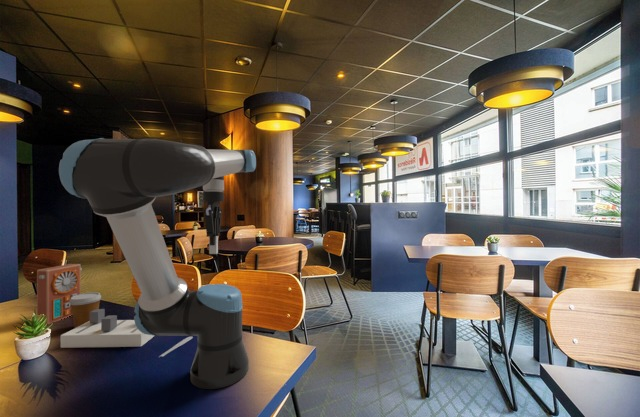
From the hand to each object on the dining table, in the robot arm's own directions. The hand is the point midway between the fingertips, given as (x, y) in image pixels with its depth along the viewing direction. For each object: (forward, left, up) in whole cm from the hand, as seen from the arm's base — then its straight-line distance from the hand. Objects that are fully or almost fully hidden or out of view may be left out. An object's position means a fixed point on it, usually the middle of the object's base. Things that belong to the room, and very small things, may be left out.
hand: (213, 253), depth 103 cm
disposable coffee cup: (+3, +50, -29) cm, 58 cm away
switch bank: (-7, +32, -28) cm, 43 cm away
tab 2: (-9, +32, -24) cm, 41 cm away
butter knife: (-20, +9, -29) cm, 36 cm away
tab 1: (-3, +41, -24) cm, 48 cm away
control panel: (+12, +68, -29) cm, 75 cm away
